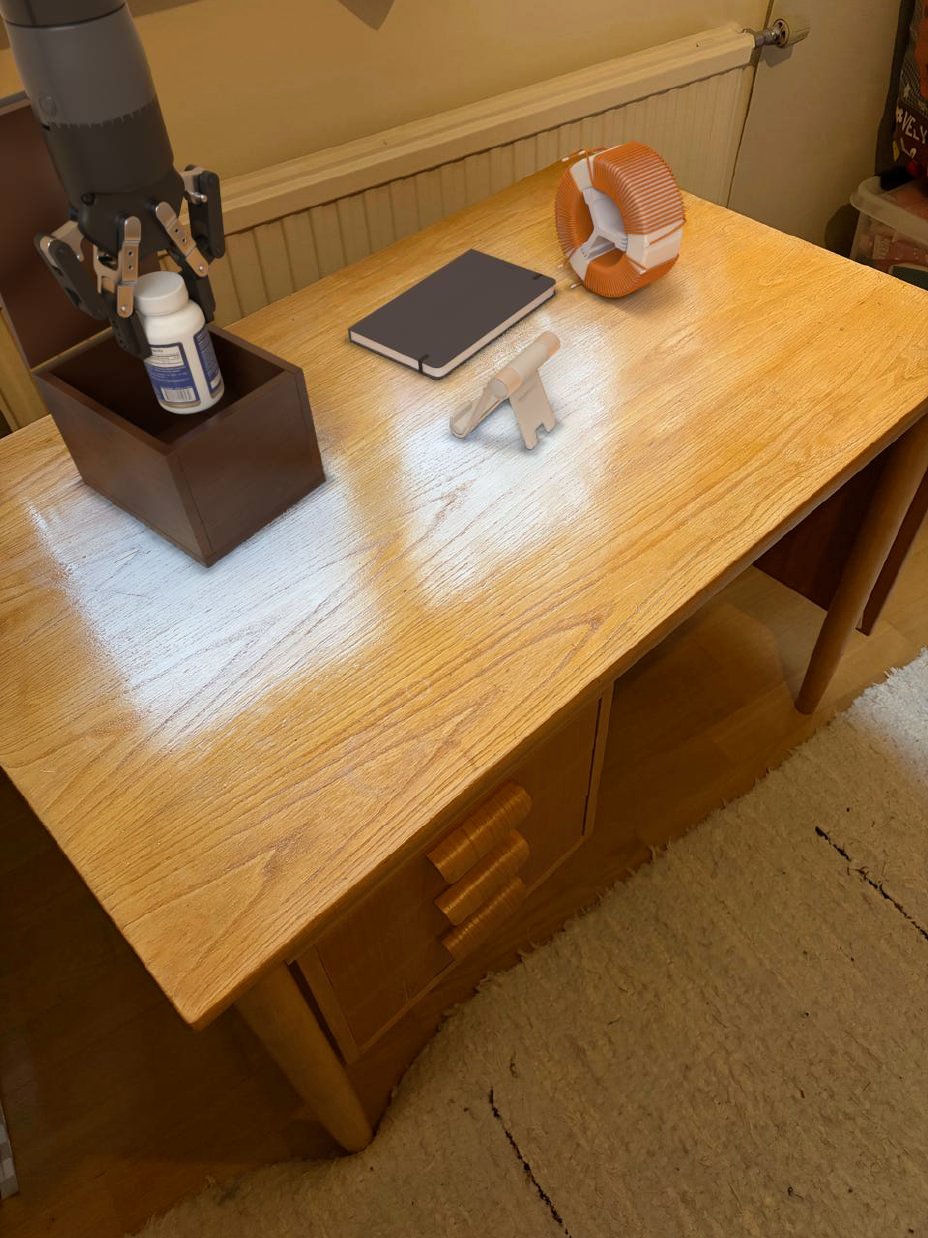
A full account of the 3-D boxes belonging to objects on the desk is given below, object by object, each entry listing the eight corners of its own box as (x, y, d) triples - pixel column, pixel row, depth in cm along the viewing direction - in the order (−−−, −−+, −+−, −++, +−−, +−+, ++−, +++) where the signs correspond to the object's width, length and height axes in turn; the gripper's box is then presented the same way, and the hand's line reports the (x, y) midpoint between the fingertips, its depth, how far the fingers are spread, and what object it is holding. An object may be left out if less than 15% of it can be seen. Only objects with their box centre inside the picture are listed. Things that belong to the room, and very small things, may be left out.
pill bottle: (201, 369, 74) (167, 258, 66) (238, 394, 71) (207, 282, 64) (145, 397, 71) (104, 285, 64) (182, 425, 69) (142, 312, 61)
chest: (326, 480, 80) (303, 368, 71) (207, 568, 74) (165, 457, 65) (201, 409, 88) (165, 299, 79) (83, 482, 82) (30, 372, 72)
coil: (588, 253, 105) (598, 120, 94) (679, 303, 97) (702, 164, 86) (544, 272, 103) (549, 138, 92) (634, 326, 95) (652, 186, 84)
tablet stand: (499, 388, 89) (499, 313, 82) (566, 414, 85) (571, 338, 79) (449, 434, 84) (445, 358, 78) (518, 463, 81) (519, 386, 75)
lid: (118, 71, 63) (73, 43, 64) (-62, 138, 56) (-108, 105, 58) (167, 296, 79) (129, 270, 80) (30, 369, 72) (-8, 339, 73)
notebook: (471, 260, 105) (349, 341, 95) (471, 247, 104) (347, 328, 94) (558, 292, 100) (438, 381, 90) (559, 279, 99) (437, 368, 88)
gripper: (149, 48, 59) (213, 283, 72) (-45, 118, 52) (64, 363, 65) (221, 70, 56) (274, 312, 69) (24, 148, 49) (124, 400, 62)
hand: (172, 336), depth 67 cm, fingers closed on pill bottle, 5 cm apart
